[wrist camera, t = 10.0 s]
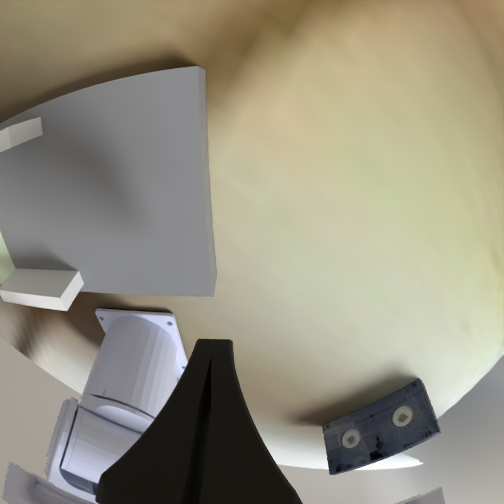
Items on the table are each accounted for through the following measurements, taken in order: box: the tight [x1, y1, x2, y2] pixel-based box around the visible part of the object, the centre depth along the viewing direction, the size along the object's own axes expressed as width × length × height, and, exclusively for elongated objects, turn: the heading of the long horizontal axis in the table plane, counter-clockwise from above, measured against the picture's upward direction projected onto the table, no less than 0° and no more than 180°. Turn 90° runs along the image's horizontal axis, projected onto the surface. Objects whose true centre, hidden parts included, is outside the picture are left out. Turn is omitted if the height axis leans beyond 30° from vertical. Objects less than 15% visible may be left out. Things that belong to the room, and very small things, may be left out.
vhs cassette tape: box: [322, 379, 441, 475], centre depth 32 cm, size 18×3×10 cm, turn 131°
